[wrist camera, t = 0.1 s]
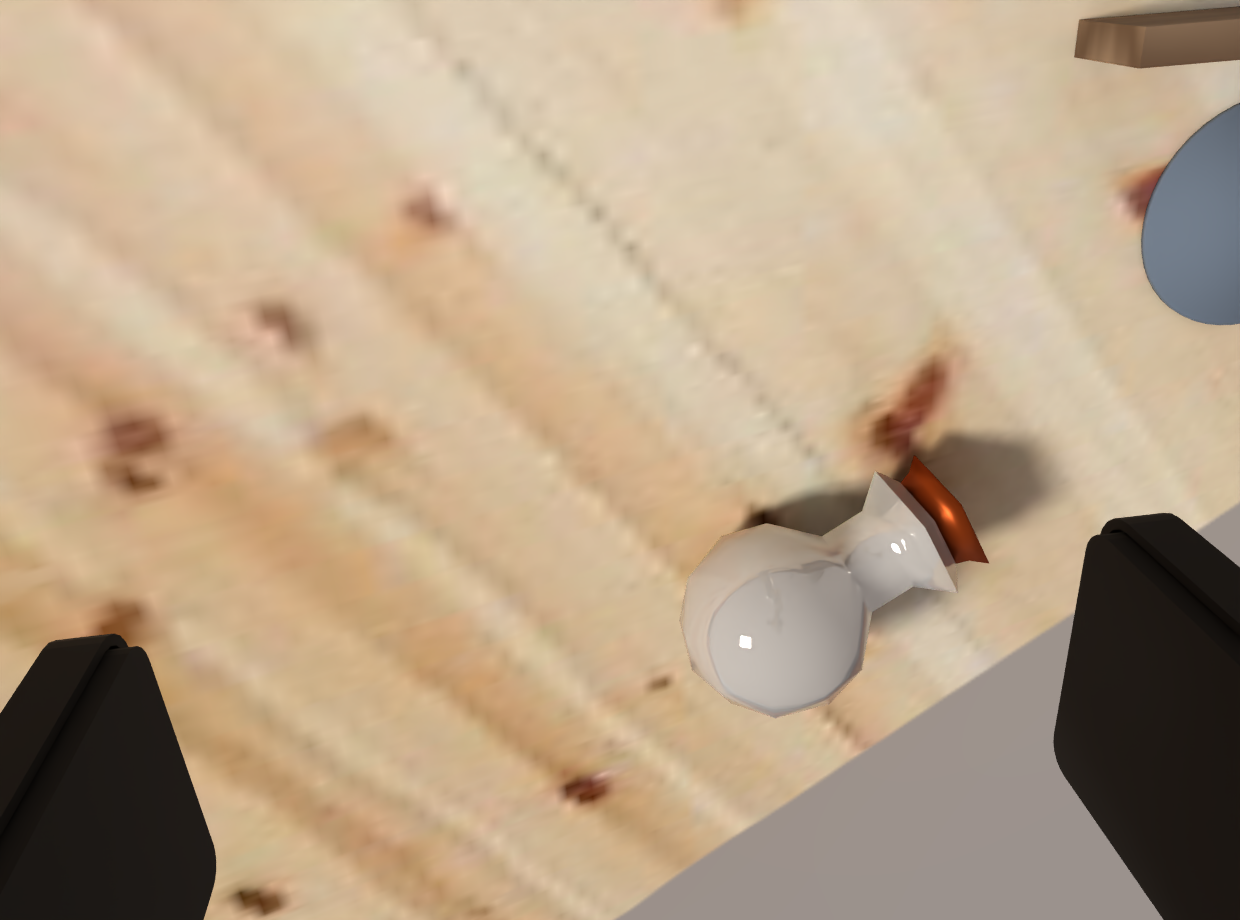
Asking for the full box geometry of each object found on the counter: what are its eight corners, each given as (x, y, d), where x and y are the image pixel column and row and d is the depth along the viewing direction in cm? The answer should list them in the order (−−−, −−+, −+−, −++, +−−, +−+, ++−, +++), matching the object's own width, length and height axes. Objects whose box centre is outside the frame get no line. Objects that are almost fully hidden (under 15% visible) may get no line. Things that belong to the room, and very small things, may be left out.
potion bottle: (649, 587, 56) (879, 442, 55) (744, 742, 54) (983, 594, 53) (630, 586, 46) (906, 412, 46) (745, 773, 45) (1033, 594, 44)
